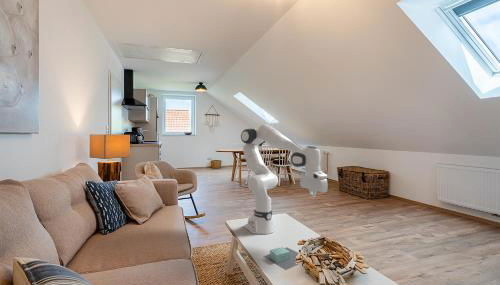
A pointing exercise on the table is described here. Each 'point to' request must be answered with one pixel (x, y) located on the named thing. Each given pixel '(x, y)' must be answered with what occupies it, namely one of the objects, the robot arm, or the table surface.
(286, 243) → the table surface
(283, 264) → the mat
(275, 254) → the box
